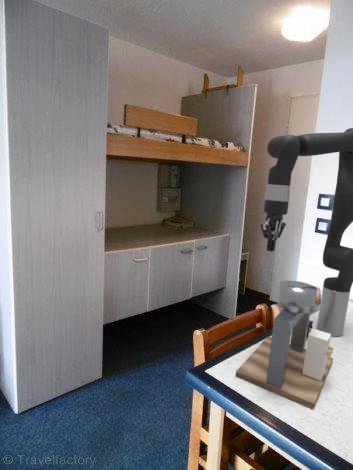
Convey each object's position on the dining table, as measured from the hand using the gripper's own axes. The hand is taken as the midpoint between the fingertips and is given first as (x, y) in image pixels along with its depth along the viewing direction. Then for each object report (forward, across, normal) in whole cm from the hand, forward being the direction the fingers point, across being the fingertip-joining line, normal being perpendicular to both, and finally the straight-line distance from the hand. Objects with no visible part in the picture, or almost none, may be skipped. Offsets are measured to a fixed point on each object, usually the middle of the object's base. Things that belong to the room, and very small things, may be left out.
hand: (270, 250), depth 110 cm
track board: (+32, -10, -15) cm, 37 cm away
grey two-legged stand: (+31, -10, -15) cm, 35 cm away
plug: (+30, -9, -22) cm, 39 cm away
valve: (+32, +15, -5) cm, 36 cm away
